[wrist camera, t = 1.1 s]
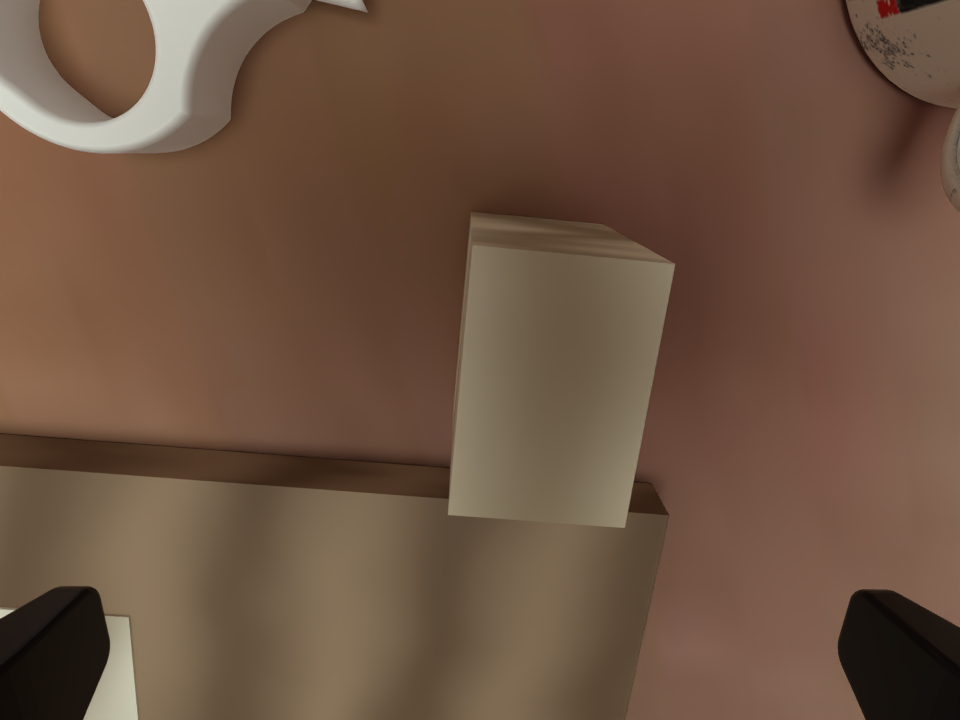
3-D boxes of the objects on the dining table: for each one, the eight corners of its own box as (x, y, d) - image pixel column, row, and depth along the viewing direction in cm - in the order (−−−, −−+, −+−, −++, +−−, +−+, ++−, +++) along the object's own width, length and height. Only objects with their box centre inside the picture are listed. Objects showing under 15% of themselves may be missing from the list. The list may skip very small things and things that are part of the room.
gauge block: (603, 224, 19) (675, 263, 13) (574, 408, 21) (624, 527, 14) (470, 211, 19) (472, 244, 12) (453, 398, 21) (448, 514, 14)
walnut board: (651, 483, 22) (696, 564, 18) (594, 767, 26) (619, 889, 22) (-139, 423, 21) (-297, 494, 16) (-70, 730, 25) (-182, 852, 20)
